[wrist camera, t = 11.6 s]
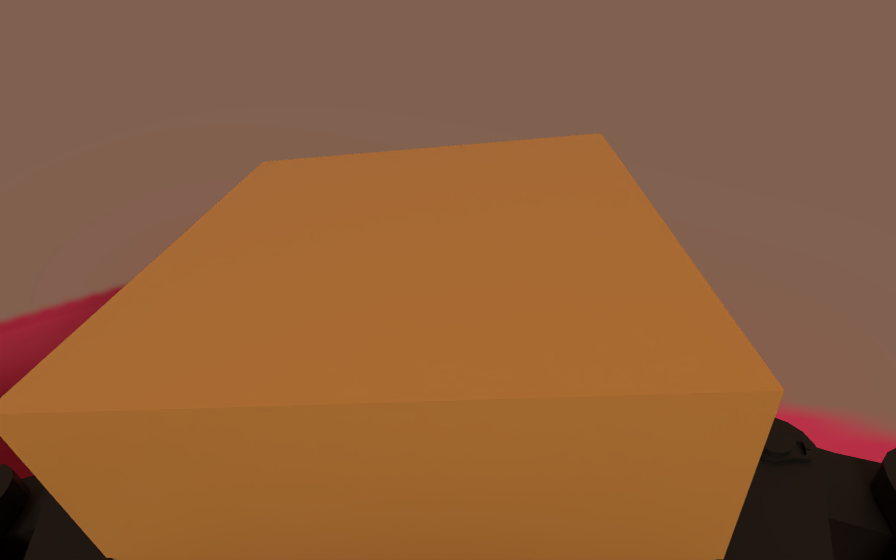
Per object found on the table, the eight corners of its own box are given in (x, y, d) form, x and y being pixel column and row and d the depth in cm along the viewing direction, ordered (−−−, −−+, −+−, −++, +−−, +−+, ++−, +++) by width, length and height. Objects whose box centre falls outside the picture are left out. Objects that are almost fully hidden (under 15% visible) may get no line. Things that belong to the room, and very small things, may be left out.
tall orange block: (264, 739, 11) (-18, 414, 5) (349, 437, 17) (263, 161, 12) (651, 756, 10) (784, 389, 4) (582, 432, 16) (601, 133, 11)
